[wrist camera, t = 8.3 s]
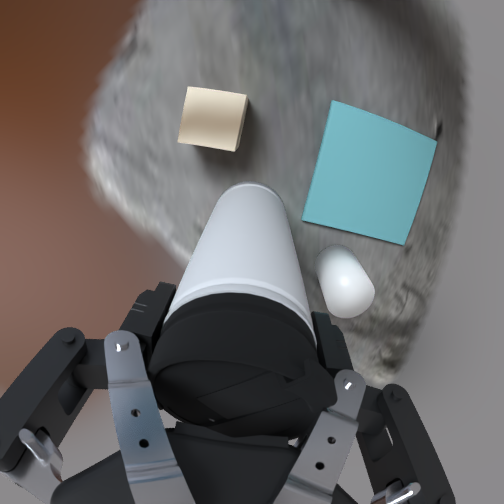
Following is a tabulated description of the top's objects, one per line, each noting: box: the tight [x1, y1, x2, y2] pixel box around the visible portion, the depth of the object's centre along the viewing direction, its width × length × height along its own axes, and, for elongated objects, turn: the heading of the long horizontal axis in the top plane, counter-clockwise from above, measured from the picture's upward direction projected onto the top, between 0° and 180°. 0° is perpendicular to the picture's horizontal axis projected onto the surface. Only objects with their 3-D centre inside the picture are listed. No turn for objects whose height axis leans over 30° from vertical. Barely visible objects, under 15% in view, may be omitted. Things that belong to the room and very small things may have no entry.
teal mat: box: [301, 100, 437, 245], centre depth 28 cm, size 13×13×1 cm
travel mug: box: [146, 181, 338, 440], centre depth 17 cm, size 6×7×20 cm
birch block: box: [178, 87, 249, 152], centre depth 24 cm, size 5×5×5 cm
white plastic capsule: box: [315, 245, 375, 318], centre depth 30 cm, size 5×5×7 cm
